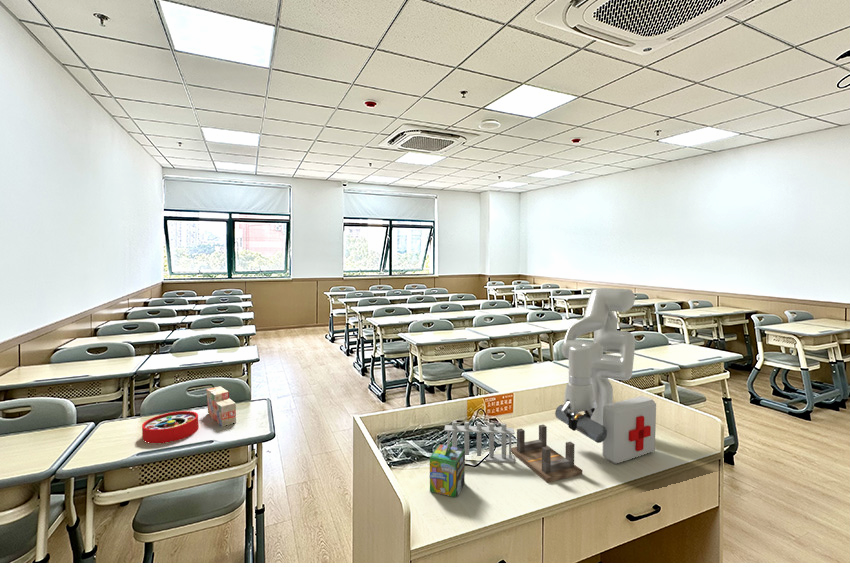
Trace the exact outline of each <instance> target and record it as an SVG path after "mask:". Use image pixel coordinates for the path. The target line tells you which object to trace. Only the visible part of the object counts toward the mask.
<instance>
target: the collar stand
mask: <svg viewBox="0 0 850 567" xmlns="http://www.w3.org/2000/svg"><path fill="white" fill-rule="evenodd" d="M547 430H548V428H547V426H546V425H545V424H539V425H538V439H535V440H530V441H525V439H526V438H525V436H526V434H525V431H526V430H525V429H523V428H517V429H516V446H513V447H512V446H511V452H512V453H511V455H513V454H514V457H516V458H517V459H518V460H519V461H520V462H522V464H524V465H525V466H526V467H528V469H530V470H531V471H533V473H535V474H536V475H537V476H538V477H540V478H541V479H542V480H543V481H544V482H545V483H547V484H548V483H551V482H555V481H560V480H565V479H570V478H573V477H578V476H581V475H583V469H582V468H580V467H579V466H577V465H576V464H575V443H574V442H572V441H566V442H565V454H564V455H565V456H563V455H562V454H560V453H559V452H557V451H556V450H555V449H553V448H552V447H550V446H549V445H547V442H548V440H547V436H548V434H547V433H548V432H547Z"/></svg>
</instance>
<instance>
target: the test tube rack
mask: <svg viewBox="0 0 850 567" xmlns="http://www.w3.org/2000/svg"><path fill="white" fill-rule="evenodd" d="M463 424H464V425H458V422H457V421H456V420H453V421H452V422H451V424H445V425H444V430H443V431H444V432H447V435H446V436H447V446H448V445H449V444H450V442H451V441H452V440H453V441H452V445H451V447H456V448H458V432H461V433H462V432H463V433H464V435H463V436H464V438H463V439H464V441H463V442H464V449H465V455H469V453H470V433H476V453H477V456H481V454H483V453H482V451H483V450H482V446H483V445H482V442H483V441H482V433H483V434H484V433H485V434H488V454H489V456H488V457H487V458H486V459H485V460H486V461H492V462H491V463H503V462H506V463H507V464H508V463H509V464H515V463H516V460H515V455H513V454H512V453H511V448H512V435H515V434H516V433H515V428H514V427H508V426H507V423H505V422H504V423H503V422H502V423H501V426H495V423H494V422H489V423H488V426H482V425H483V424H482V422H481V421H477V422H476V426H475V425H470V422H469V421H464V423H463ZM450 433H451V434H452V435H451V434H450ZM495 434H501V454H499V453H498V454H497V453H495ZM507 435H508V454H507ZM450 436H451V437H450ZM451 438H452V439H451ZM450 439H451V440H450Z"/></svg>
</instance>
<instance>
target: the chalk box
mask: <svg viewBox="0 0 850 567" xmlns="http://www.w3.org/2000/svg"><path fill="white" fill-rule="evenodd" d="M452 441H453V440H452V439H451V440H450V444H449V445H448V444H447V445H445V444H441V443H439V444H438V445H437V446H436V448H435V449H434V450H433V451H432V453H431V454H430V456H429V492H430V491H431V493H434V492H435V494H439V495H443V494H444V496H447V495H449V496H448V497H451V496H452V498H455V497H457V498H458V496H459V494H460V492H461V490H462V488H463V487H464V485H465V483H466V482H465V479H466V478H465V471H466V470H465V467H466V466H465V465H466V464H465V463H466V462H465V448H460V447H457V448H456V447H452Z"/></svg>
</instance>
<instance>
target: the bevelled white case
mask: <svg viewBox="0 0 850 567" xmlns="http://www.w3.org/2000/svg"><path fill="white" fill-rule="evenodd" d="M656 422H657V403H656V402H655V400H654V399H652V398H650V397H646V396H644V395H641V396H636V397H632V398H628V399H624V400H619V401H616V402H614V401H613V403H610V404H606V405H605V406H603V426H604V427H605V428H606V429H607V436H606V438H605V440H604V441H603V442H602V453H601V454H602V456H603V457H604V459H605V460H607V461H609V462H611V463H612V464H614V465H617V463H618V464H620V462H621V463H624V462H626V461H630V460H632V458H633V459H635V457H636V458H638V456H639V457H642V456H645V455H647V453H648V454H650V452H651V453H653V452H655V451H656V432H657V431H656V430H657V429H656V428H657V427H656V425H657V424H656ZM644 454H645V455H644ZM641 455H642V456H641ZM623 461H624V462H623Z"/></svg>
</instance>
